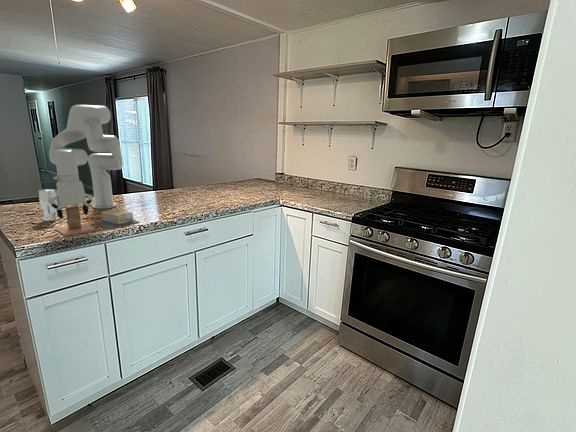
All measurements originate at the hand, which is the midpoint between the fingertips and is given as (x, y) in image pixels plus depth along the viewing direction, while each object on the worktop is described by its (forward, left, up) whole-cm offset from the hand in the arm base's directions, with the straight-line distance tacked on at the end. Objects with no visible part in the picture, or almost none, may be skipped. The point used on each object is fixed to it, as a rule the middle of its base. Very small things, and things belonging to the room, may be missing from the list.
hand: (73, 216), depth 140 cm
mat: (+1, +18, -7) cm, 19 cm away
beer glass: (-27, -2, -7) cm, 28 cm away
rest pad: (0, 0, -7) cm, 7 cm away
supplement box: (-8, +18, -4) cm, 20 cm away
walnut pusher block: (0, 0, -6) cm, 6 cm away
